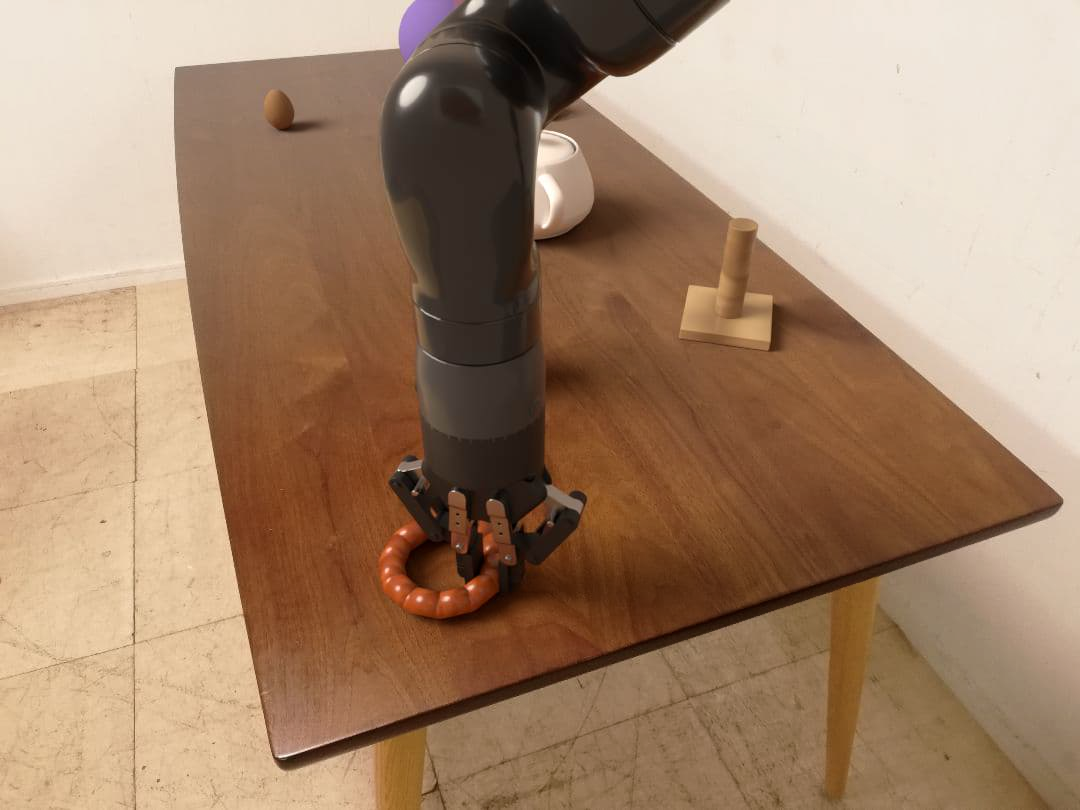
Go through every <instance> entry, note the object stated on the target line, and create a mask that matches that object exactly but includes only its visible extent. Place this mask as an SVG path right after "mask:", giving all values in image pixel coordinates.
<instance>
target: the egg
mask: <svg viewBox="0 0 1080 810" xmlns="http://www.w3.org/2000/svg"><path fill="white" fill-rule="evenodd" d="M263 114H264V117H265V120H266V121H267V122H268V123H269V124H270V126H272V127H273V128H275V129H277V130H284V129H285V130H286V129H288V128H289V127H290V126H291V125H292V124H293V121H294V120H295V108H294V106H293V103H292V101H291V100H290V97H288V95H287V94H286V93H285V92H283V90H280V89H278V88H273V89H270V91H268V93H266V96H265V99H264V103H263Z"/></svg>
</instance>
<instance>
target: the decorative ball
mask: <svg viewBox="0 0 1080 810" xmlns="http://www.w3.org/2000/svg"><path fill="white" fill-rule="evenodd" d="M463 1H464V0H414V1H413V2H412V3H410V5H409V6H408V8H407V9H406V10H405V12H404V14H403V16H402V17H401V21H400V24H399V27H398V47H399V51H400V55H401V57H402V60H403V62H404V63H405V64H406V62H407V61H408V59H409V58H410V56H411V55H412V53H413V52H414V50H415V49H416V48H417V46H418V45H419V44H420V42H421V41H422V40H423V39H424V38H425V37H426V36H427V35H428V34H429V33H430V32H431V31H432V30H433V29H434V28H435V27H436V26H437V25H438V24H439V23H440V22H441V21H442V20H443V19H444V18H445V17H446V16H447V15H448V14H450V13H451V12H452V11H453V10H454V9H455V8H456V7H457V6H458V5H460V4H461V3H462V2H463ZM405 64H404V65H405Z"/></svg>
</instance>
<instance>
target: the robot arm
mask: <svg viewBox="0 0 1080 810" xmlns="http://www.w3.org/2000/svg"><path fill="white" fill-rule="evenodd" d="M731 1H732V0H464V1H463V2H462V3H461V4H460V5H458V6H457V7H456V8H455V9H454V10H453V11H452V12H451V13H450V14H448V15H447V16H446V17H445V18H444V19H443V20H442V21H441V22H440V23H439V24H438V25H437V26H436V27H435V28H434V29H433V30H432V31H431V32H430V33H429V34H428V35H427V36H426V37H425V38H424V39H423V40H422V41H421V42H420V44H419V45H418V46H417V48H416V49H415V50H414V52H413V53H412V55H411V56H410V58H409V59H408V61H407V62H406V64H404V65H403V67H402V68H401V69H400V70H399V72H398V74H397V75H396V76H395V78H394V79H393V81H392V83H391V84H390V86H389V88H388V89H387V91H386V93H385V95H384V98H383V102H382V106H381V109H380V114H379V120H378V121H379V122H378V153H379V154H378V155H379V164H380V172H381V180H382V184H383V189H384V193H385V197H386V201H387V205H388V208H389V211H390V215H391V218H392V220H393V225H394V228H395V231H396V234H397V238H398V241H399V245H400V247H401V250H402V252H403V255H404V257H405V259H406V262H407V264H408V267H409V290H410V300H411V308H412V309H411V310H412V319H413V327H414V335H415V336H414V338H415V347H414V348H415V350H414V389H415V393H416V395H417V402H418V403H417V404H418V412H419V421H420V429H421V438H422V448H423V456H424V458H422V459H419V458H418V457H417V456H415V455H414V454H413V455H412V454H406V455H405V456H404V457H403V458H402V460H401V461H400V462H399V464H398V465H397V467H396V469H395V470H394V472H393V474H392V476H391V477H390V479H389V480H388V485H389V487H390V489H391V490H392V491H393V492H394V494H395V495H396V496H397V498H398V500H399V501H400V502H401V503H402V505H403V506H404V508H405V509H406V511H408V513H409V514H410V516H411V517H412V519H413V520H414V519H415V521H416V522H417V523H418V525H419V526H420V527H421V529H422V530H423V531H424V533H425V534H426V535H427V537H428V538H429V539H428V540H430V541H431V542H434V543H440V542H442V541H443V540H444V541H446V542H448V543H450V547H451V549H452V551H454V553H455V561H456V572H457V574H458V576H459V577H460V578H463V579H464V586H465V585H466V584H467V583H469V582H470V581H471V580H473V579H474V578H475V577H476V576H478V575H479V573H480V570H481V567H482V565H483V562H484V548H483V533H480V532H478V528H479V525H480V521H484V522H485V523H487V524H490V526H491V528H492V534H493V540H494V543H497V544H498V550H499V557H500V559H499V561H498V576H499V591H498V594H500V595H503V596H507V597H510V595H511V594H512V591H515V592H517V591H518V590H519V588H520V586H521V585H522V582H523V579H524V577H525V574H526V562H527V563H528V564H530V565H532V566H540V565H542V564H543V563H544V561H546V560H547V559H548V558H549V557H550V555H552V554H553V553H554V552H555V550H557V549H558V548H559V547H560V546H561V545H562V544H563V543H564V542H565V541H566V540H567V539H568V538H569V537H570V536H571V535H572V534H573V533H574V532H575V531H576V530H577V529H578V527H579V524H580V521H581V519H582V515H583V514H584V509H585V507H586V505H587V501H588V497H587V495H586V494H585V493H584V492H583V491H582V490H581V491H580V490H572V491H570V493H568V494H567V493H565V492H564V491H562V490H561V489H559V488H558V487H556V486H554V485H553V477H552V474H551V473H550V471H549V469H548V468H547V466H546V463H545V462H546V461H545V460H546V459H545V458H546V392H547V391H546V388H547V387H546V386H547V385H546V384H547V382H546V381H547V375H546V374H547V369H546V368H547V366H546V365H547V364H546V353H545V347H544V340H543V331H542V330H543V329H542V327H543V325H542V322H543V321H542V320H543V319H542V318H543V316H542V315H543V309H542V308H543V276H542V275H543V274H542V272H543V271H542V264H541V255H540V252H539V249H538V246H537V245H538V244H537V242H536V241H535V239H534V204H535V182H536V168H537V155H538V147H539V142H540V137H541V132H542V131H543V129H544V130H545V129H546V128H547V127H548V125H550V123H551V122H553V120H554V119H556V118H557V117H558V116H559V115H560V114H561V113H563V112H564V111H565V110H566V109H567V108H569V107H570V106H571V105H572V104H574V103H576V101H578V100H579V99H580V98H582V97H583V96H584V95H585V94H588V92H589V91H591V90H592V89H593V88H595V87H596V86H597V85H598V84H600V83H601V82H602V81H604V80H605V79H607V78H608V77H610V76H611V77H614V78H625V77H629V76H633V75H635V74H637V73H640V72H641V71H643V70H644V69H646V68H648V67H649V66H651V65H652V64H653V63H655V62H657V61H658V60H659V59H660V58H662V57H664V56H665V55H667V53H669V52H670V51H672V50H673V49H674V48H675V47H676V46H677V43H681V42H683V41H684V40H685V39H686V38H687V37H689V36H690V35H691V34H693V33H694V32H695V31H696V30H698V28H700V27H701V26H703V24H705V23H706V22H707V21H708V20H710V19H711V18H712V17H713V16H715V15H716V14H717V13H719V11H721V10H722V9H723V8H725V7H726V6H727V5H728V4H729V3H730V2H731ZM541 504H543V505H544V507H545V511H544V518H545V519H544V520H543V521H542V522H541V523H540V524H539V525H538V526H537V527H536V528H535V530H534V532H533V531H532V532H531V531H530V532H529V531H528V530H527V529H528V528H527V522H526V517H527V515H528V514H530V513H531V512H533V511H534V510H535V509H536V508H537V507H539V506H540V505H541ZM431 509H432V510H433V512H434V513H432V510H431ZM433 514H437V515H436V516H435V517H434V516H433Z"/></svg>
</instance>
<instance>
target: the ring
mask: <svg viewBox="0 0 1080 810" xmlns="http://www.w3.org/2000/svg"><path fill="white" fill-rule="evenodd" d="M432 514H433V516H434V517H435V516H436V515H437V514H436V513H432ZM478 532H480V533H483V548H484V562H483V565H482V567H481V570H480V573H479V575H478V576H476V577H475V578H474V579H473V580H471V581H470V582H469V583H467V584H466V585H465V584H464V586H460V587H456V588H452V589H447V590H443V591H438V590H434V589H428V588H424V587H420V586H418V585H417V584H416V583H415V582H413V581H412V580H411V579H410V578H409V577H408V575H407V571H406V565H405V564H406V563H407V560H408V558H409V556H410V554H411V552H412V551H413V550H414V549H416V548H417V547H419V546H420V545H421V544H423V543H424V542H426V541H428V540H430V539H429V538H428V537H427V535H426V534H425V533H424V531H423V530H422V529H421V527H420V526H419V525H418V523H417V522H416V521H415V519H414V518H413V519H412V520H411V521H409V522H408V523H407V524H405V525H404V526H402V527H401V528H399V529H398V530H396V531H395V532H394V533H392V535H391V536H389V539H388V541H387V543H386V545H385V547H384V549H383V551H382V553H381V555H380V557H379V560H378V569H379V575H380V580H381V581H380V582H381V585H382V586H381V587H382V590H383V592H384V593H385V594H386V596H388V597H389V598H390V599H391V600H393V602H395V603H396V604H397V605H398V606H399V607H400V608H401V609H403V610H404V611H405V612H406V613H409V614H413V615H418V616H423V617H427V618H431V619H437V620H442V619H443V620H444V619H447V618H452V617H456V616H460V615H465V614H469V613H473V612H475V611H476V610H478V609H479V608H481V606H483V605H484V604H486V602H488V601H489V600H490V599H491V598H493V597H494V596H495V595H496V594H497V593H499V576H498V561H499V559H500V557H499V550H498V544H497V543H494V540H493V534H492V528H491V525H489V523H487V522H485V521H480V525H479V528H478Z"/></svg>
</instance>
